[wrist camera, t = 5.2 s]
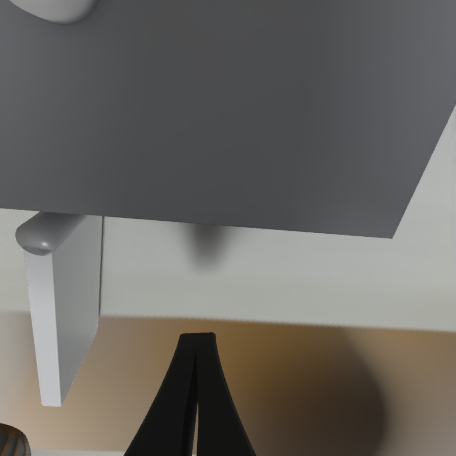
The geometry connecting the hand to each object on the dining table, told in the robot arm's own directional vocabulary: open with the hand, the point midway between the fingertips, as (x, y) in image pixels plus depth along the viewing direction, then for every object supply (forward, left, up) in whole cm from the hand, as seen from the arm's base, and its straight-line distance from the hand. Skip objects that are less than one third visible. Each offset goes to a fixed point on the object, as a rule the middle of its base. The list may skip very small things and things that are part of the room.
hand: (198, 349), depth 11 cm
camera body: (0, -9, -3) cm, 10 cm away
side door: (+5, -2, -3) cm, 6 cm away
